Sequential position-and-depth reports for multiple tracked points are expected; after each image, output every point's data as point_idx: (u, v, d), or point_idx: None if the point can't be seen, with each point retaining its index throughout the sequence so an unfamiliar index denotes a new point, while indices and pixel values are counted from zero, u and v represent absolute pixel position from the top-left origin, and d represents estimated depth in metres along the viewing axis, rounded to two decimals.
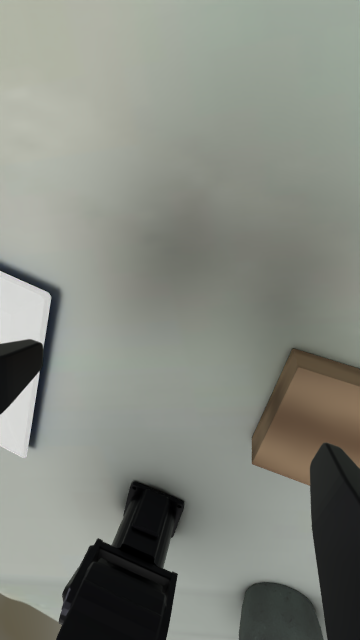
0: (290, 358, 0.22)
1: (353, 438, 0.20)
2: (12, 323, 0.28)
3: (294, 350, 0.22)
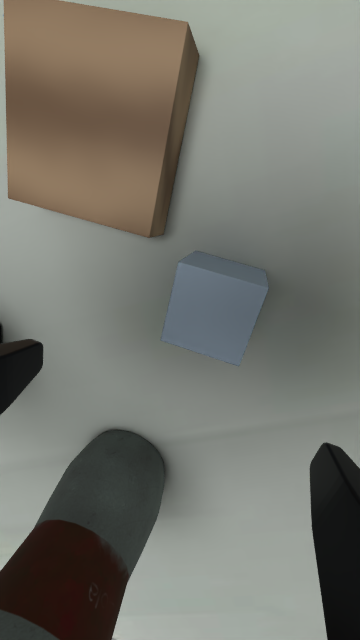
0: None
1: (95, 109, 0.15)
2: None
3: None
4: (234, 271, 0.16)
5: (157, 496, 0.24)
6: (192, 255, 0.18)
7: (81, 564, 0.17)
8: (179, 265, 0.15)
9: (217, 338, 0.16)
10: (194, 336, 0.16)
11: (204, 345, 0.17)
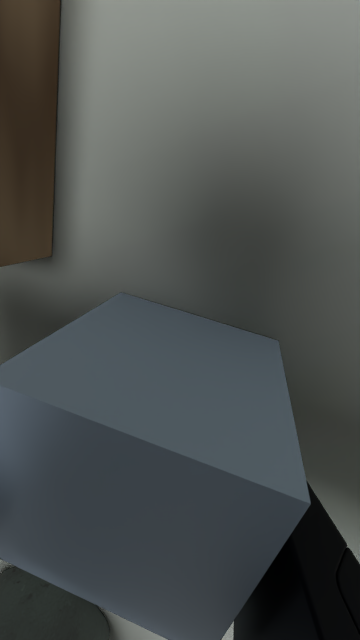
0: None
1: None
2: None
3: None
4: (191, 382, 0.05)
5: None
6: (91, 316, 0.07)
7: None
8: None
9: (138, 589, 0.05)
10: (77, 570, 0.06)
11: (107, 594, 0.06)
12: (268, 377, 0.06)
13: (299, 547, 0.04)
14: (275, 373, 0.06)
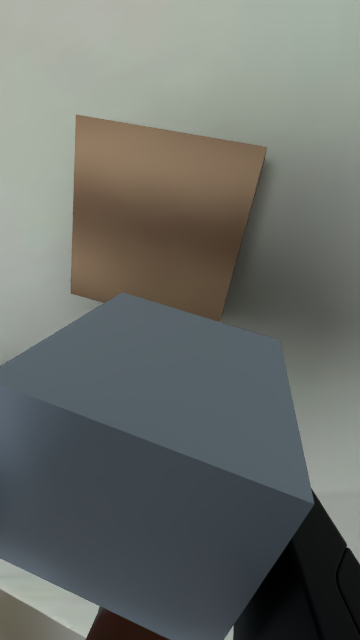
0: None
1: (165, 219, 0.15)
2: None
3: None
4: (193, 382, 0.05)
5: None
6: (93, 316, 0.07)
7: None
8: None
9: (141, 590, 0.05)
10: (79, 570, 0.06)
11: (108, 594, 0.06)
12: (270, 377, 0.06)
13: (299, 547, 0.04)
14: (277, 373, 0.06)
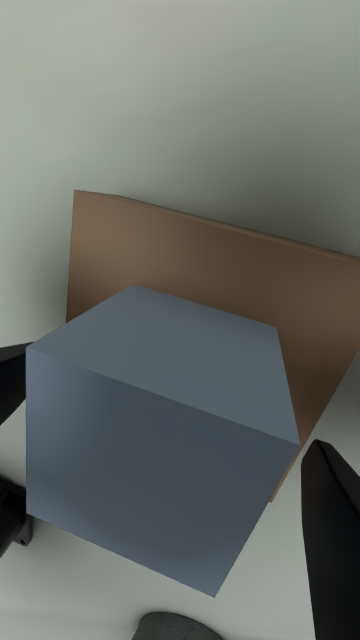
0: None
1: None
2: None
3: (114, 195, 0.11)
4: (200, 356, 0.06)
5: None
6: (110, 303, 0.08)
7: None
8: (30, 356, 0.05)
9: (155, 535, 0.06)
10: (100, 521, 0.06)
11: (126, 542, 0.06)
12: (267, 355, 0.07)
13: None
14: (273, 352, 0.07)
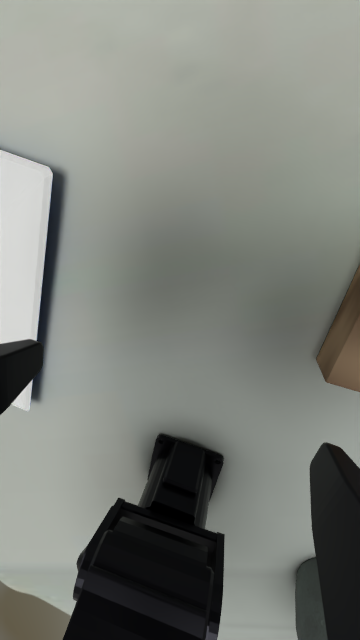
0: None
1: None
2: (5, 230, 0.22)
3: None
4: None
5: None
6: None
7: None
8: None
9: None
10: None
11: None
12: None
13: None
14: None
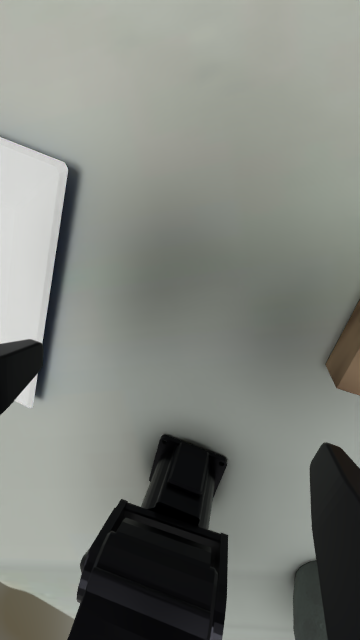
0: None
1: None
2: (15, 224, 0.22)
3: None
4: None
5: None
6: None
7: None
8: None
9: None
10: None
11: None
12: None
13: None
14: None
